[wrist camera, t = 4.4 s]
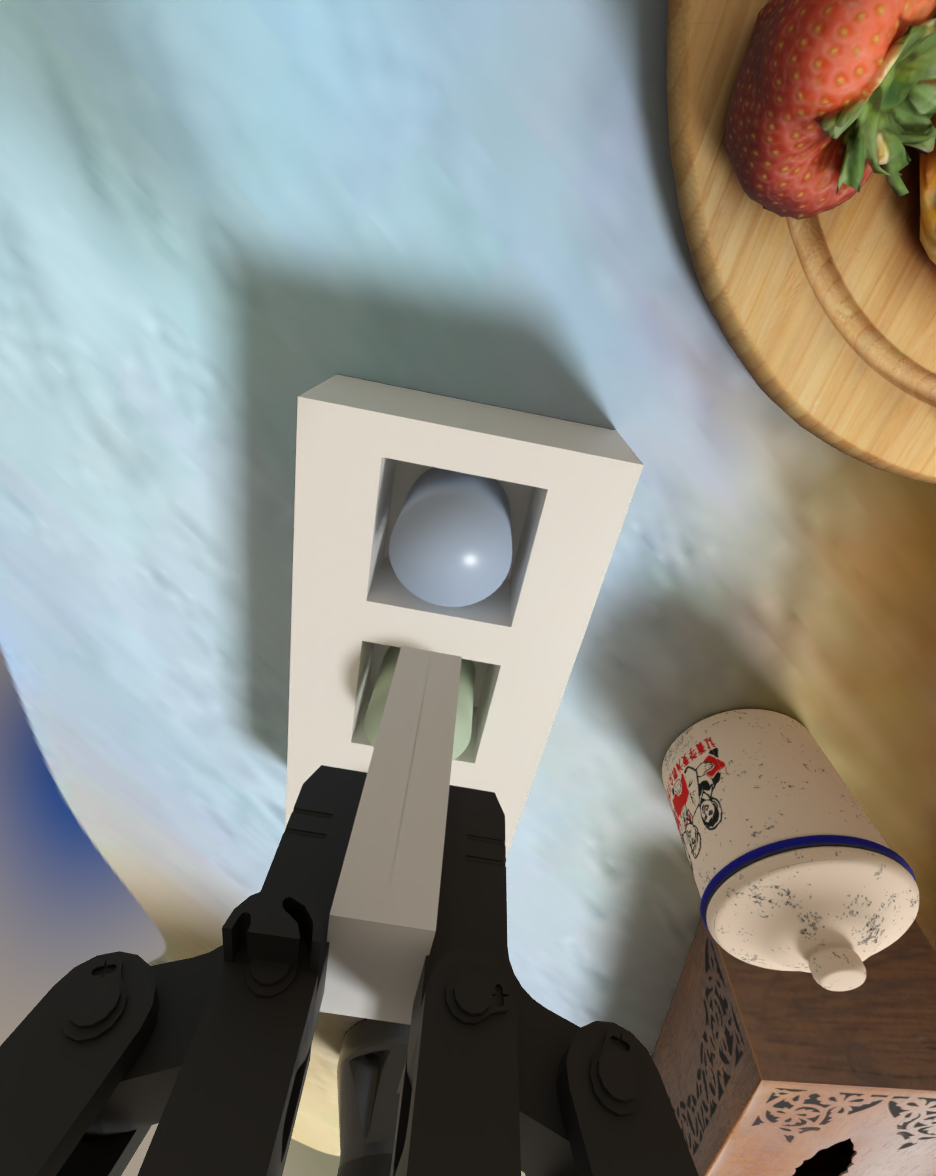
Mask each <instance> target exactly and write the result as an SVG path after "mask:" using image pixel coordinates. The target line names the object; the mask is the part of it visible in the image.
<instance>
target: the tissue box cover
mask: <svg viewBox="0 0 936 1176" xmlns="http://www.w3.org/2000/svg"><path fill="white" fill-rule="evenodd" d="M863 964H864V966H865V968H866V979H865V981H864V983H863V984H862V985H860V986H859V987H857V988H855V989H852V990H848V991H831V990H827V989H825V988H823V987H822V986H821V985H819V984H818V983H817V982H816V981H815V979H814V978H813V976H812V973H809V972H803V971H781V970H773V969H767V968H762V967H758V966H755V965H752V964H749V963H746V962H744V961H741V960H739V959H738V958H736V957H734V956H732V955H731V954H729V953H728V952H727V951H725V950H724V949H723V948H722V947H721V946H720V945H719V944H718V943H717V942H716V941H715V940H714V938H713V937H712V935H711V934H710V932H709V931H708V930H707V928H706V927H705V925H704V923H703V920H702V917H701V920H700V923H699V926H698V928H697V931H696V934H695V937H694V940H693V942H692V945H691V948H690V951H689V954H688V957H687V959H686V962H685V965H684V968H683V971H682V973H681V976H680V979H679V982H678V985H677V988H676V990H675V993H674V996H673V999H672V1002H671V1005H670V1007H669V1010H668V1013H667V1016H666V1019H665V1021H664V1024H663V1027H662V1030H661V1033H660V1036H659V1038H658V1041H657V1044H656V1047H655V1050H654V1052H653V1055H652V1060H653V1062H654V1063H655V1065H656V1067H657V1069H658V1071H659V1073H660V1076H661V1079H662V1081H663V1084H664V1086H665V1089H666V1092H667V1094H668V1097H669V1099H670V1102H671V1105H672V1107H673V1110H674V1112H675V1115H676V1118H677V1120H678V1123H679V1125H680V1128H681V1131H682V1133H683V1136H684V1138H685V1141H686V1144H687V1146H688V1149H689V1151H690V1154H691V1157H692V1159H693V1162H694V1164H695V1167H696V1170H697V1172H698V1175H699V1176H936V952H935V950H934V948H933V947H932V945H931V944H930V942H929V941H928V939H927V938H926V936H925V935H924V933H923V932H922V930H921V928H920V927H919V925H918V924H917V922H916V921H915V919H914V921H913V923H912V924H911V926H910V927H909V928H908V930H907V931H906V932H905V933H904V934H903V935H902V936H901V937H900V938H899V939H898V940H896V941H895V942H894V943H892V944H891V945H889V946H888V947H886V948H885V949H883V950H881V951H879V952H878V953H876V954H873V955H871V956H870V957H868V958H867V959H866V960H864V961H863Z"/></svg>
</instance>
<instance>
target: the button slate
mask: <svg viewBox="0 0 936 1176" xmlns="http://www.w3.org/2000/svg"><path fill="white" fill-rule="evenodd" d="M389 556H390V561H391V565H392V567H393V570H394V572H395V574H396V576H397V578H398V579H399V580H400V582H401V583H402V584H403V585H404V586H405V587H406V589H408V590H409V591H410V592H411V593H412V594H414V595H415V596H417V597H418V598H420V599H422V600H424V601H426V602H429V603H432V604H435V605H439V606H445V607H461V606H467V605H471V604H474V603H477V602H479V601H481V600H483V599H485V598H487V597H488V596H490V595H491V594H492V593H494V592H495V591H496V590H497V589H498V588H499V587H500V586H501V584H502V583H503V581H504V580H505V578H506V576H507V574H508V572H509V569H510V566H511V561H512V537H511V517H510V505H509V501H508V498H507V495H506V493H505V491H504V489H503V488H502V486H501V485H500V483H499V482H498V481H497V480H496V479H492V478H487V477H482V476H477V475H472V474H466V473H461V472H456V471H451V470H446V469H441V468H436V467H434V468H432V469H430V470H428V471H426V472H425V473H424V474H422V475H421V476H420V477H419V478H418V479H417V480H416V481H415V483H414V484H413V486H412V487H411V489H410V491H409V493H408V495H407V498H406V500H405V502H404V505H403V507H402V509H401V512H400V514H399V516H398V519H397V521H396V523H395V526H394V528H393V531H392V534H391V537H390V542H389Z"/></svg>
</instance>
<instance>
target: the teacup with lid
mask: <svg viewBox="0 0 936 1176" xmlns="http://www.w3.org/2000/svg"><path fill="white" fill-rule="evenodd" d="M662 779H663V784H664V787H665V790H666V793H667V796H668V799H669V802H670V805H671V808H672V811H673V814H674V817H675V820H676V823H677V827H678V830H679V833H680V836H681V839H682V842H683V845H684V848H685V851H686V854H687V857H688V860H689V863H690V866H691V869H692V872H693V875H694V878H695V882H696V885H697V888H698V891H699V894H700V897H701V906H700V910H701V917H702V920H703V923H704V925H705V927H706V928H707V930H708V931H709V932H710V934H711V935H712V937H713V938H714V940H715V941H716V942H717V943H718V944H719V945H720V946H721V947H722V948H723V949H724V950H725V951H727V952H728V953H729V954H731V955H732V956H734V957H736V958H738V959H739V960H741V961H744V962H746V963H749V964H752V965H755V966H758V967H762V968H767V969H773V970H781V971H803V972H809V973H812V976H813V978H814V979H815V981H816V982H817V983H818V984H819V985H821V986H822V987H823V988H825V989H827V990H831V991H848V990H852V989H855V988H857V987H859V986H860V985H862V984H863V983H864V981H865V979H866V968H865V966H864V964H863V961H864V960H866V959H867V958H868V957H870V956H871V955H873V954H876V953H878V952H879V951H881V950H883V949H885V948H886V947H888V946H889V945H891V944H892V943H894V942H895V941H896V940H898V939H899V938H900V937H901V936H902V935H903V934H904V933H905V932H906V931H907V930H908V928H909V927H910V926H911V924H912V923H913V921H914V919H915V917H916V915H917V912H918V908H919V891H918V887H917V884H916V880H915V876H914V874H913V871H912V870H911V868H910V867H909V865H908V864H907V863H906V862H905V860H904V859H903V858H902V857H900V856H899V855H898V854H897V853H895V852H894V851H892V850H891V849H890V848H889V847H888V845H887V844H886V842H885V841H884V839H883V838H882V836H881V835H880V834H879V832H878V831H877V829H876V828H875V826H874V825H873V823H872V822H871V821H870V819H869V818H868V816H867V815H866V813H865V812H864V810H863V809H862V807H861V806H860V805H859V803H858V802H857V800H856V799H855V797H854V796H853V794H852V793H851V792H850V790H849V789H848V787H847V786H846V784H845V783H844V781H843V780H842V778H841V777H840V776H839V774H838V773H837V771H836V770H835V768H834V767H833V765H832V764H831V762H830V761H829V760H828V758H827V757H826V755H825V754H824V752H823V751H822V749H821V748H820V747H819V745H818V744H817V742H816V741H815V739H814V738H813V736H812V735H811V734H810V732H809V731H808V730H807V729H806V728H805V727H804V726H803V725H802V724H800V723H799V722H797V721H796V720H794V719H792V718H790V717H789V716H786V715H784V714H781V713H778V712H774V711H769V710H762V709H739V710H732V711H727V712H722V713H719V714H716V715H713V716H710V717H708V718H705V719H703V720H701V721H699V722H697V723H696V724H694V725H692V726H691V727H689V728H688V729H686V730H685V731H684V732H683V733H682V734H681V735H679V736H678V737H677V739H676V740H675V741H674V742H673V743H672V745H671V746H670V747H669V749H668V751H667V753H666V755H665V757H664V761H663V765H662Z"/></svg>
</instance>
